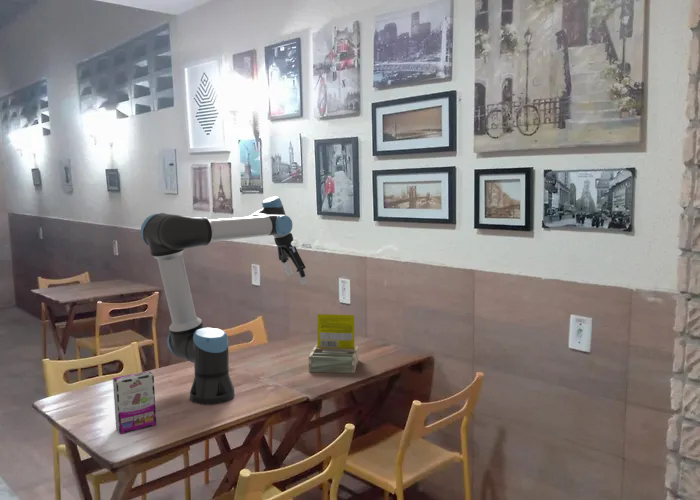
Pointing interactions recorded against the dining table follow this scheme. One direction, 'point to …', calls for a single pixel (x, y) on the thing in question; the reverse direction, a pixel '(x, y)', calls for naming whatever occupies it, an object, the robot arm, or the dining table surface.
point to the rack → (333, 360)
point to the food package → (335, 331)
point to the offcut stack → (335, 351)
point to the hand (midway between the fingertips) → (297, 279)
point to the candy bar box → (134, 402)
